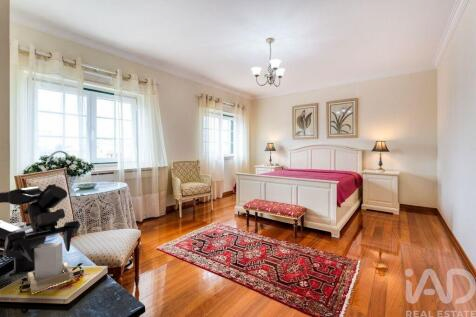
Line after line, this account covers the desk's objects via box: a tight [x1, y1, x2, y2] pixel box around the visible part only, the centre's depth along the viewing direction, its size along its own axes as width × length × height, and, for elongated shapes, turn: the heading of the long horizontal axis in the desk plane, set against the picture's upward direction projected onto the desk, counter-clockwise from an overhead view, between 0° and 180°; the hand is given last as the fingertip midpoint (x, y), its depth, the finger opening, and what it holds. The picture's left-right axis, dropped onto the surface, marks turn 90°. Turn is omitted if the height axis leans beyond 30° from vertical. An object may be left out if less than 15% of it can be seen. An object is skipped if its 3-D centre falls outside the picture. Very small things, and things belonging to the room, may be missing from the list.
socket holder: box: [27, 261, 74, 294], centre depth 72 cm, size 10×10×3 cm
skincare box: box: [34, 242, 64, 282], centre depth 72 cm, size 6×4×12 cm
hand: (51, 255), depth 71 cm, fingers open, 9 cm apart
